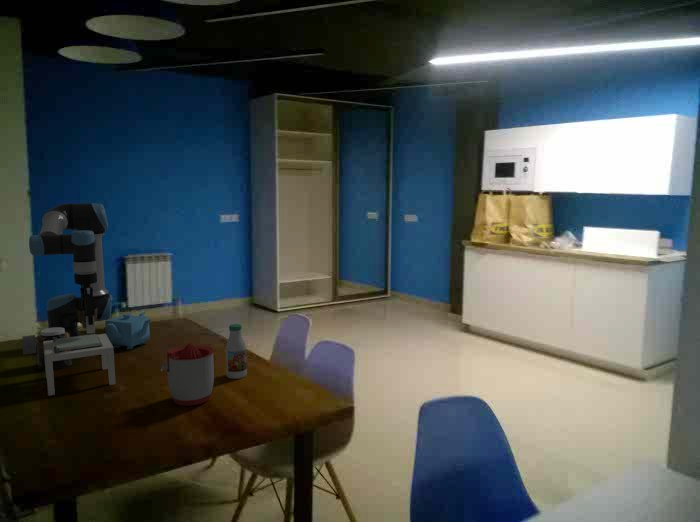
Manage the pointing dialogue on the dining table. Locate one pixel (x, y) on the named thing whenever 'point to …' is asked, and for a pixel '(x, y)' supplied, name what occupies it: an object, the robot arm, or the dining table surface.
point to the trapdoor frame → (104, 351)
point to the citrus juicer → (190, 374)
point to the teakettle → (128, 330)
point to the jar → (48, 336)
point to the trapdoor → (62, 343)
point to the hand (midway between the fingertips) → (89, 328)
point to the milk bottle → (236, 353)
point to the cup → (81, 313)
